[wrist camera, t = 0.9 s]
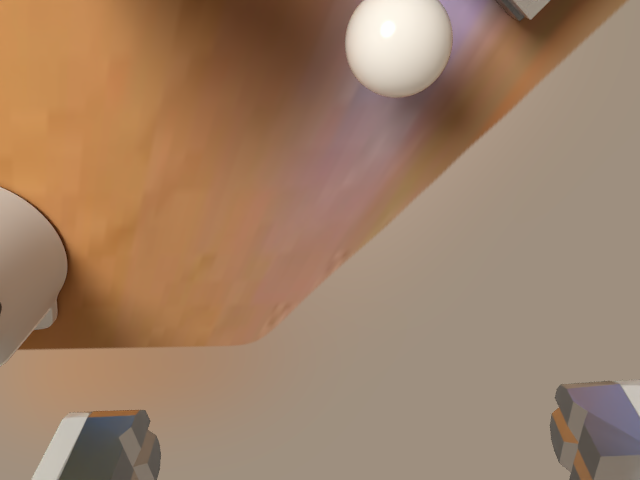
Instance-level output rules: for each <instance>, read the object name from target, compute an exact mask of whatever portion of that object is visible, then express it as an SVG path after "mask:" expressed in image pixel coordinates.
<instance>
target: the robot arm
mask: <svg viewBox="0 0 640 480" xmlns="http://www.w3.org/2000/svg"><path fill="white" fill-rule="evenodd" d="M66 275H67V257H66V252H65V249H64V246H63V244H62V241H61V239H60V237H59V236H58V234H57V232H56V231H55V229H54V228H53V227H52V225H51V224H50V223H49V221H48V220H47V219H46V218H45V217H44V216H43V215H42V214H41V213H40V212H39V211H38V210H37V209H36V208H34V207H33V206H32V205H31V204H29V203H28V202H26V201H25V200H24V199H22V198H20V197H19V196H17V195H15V194H14V193H12V192H10V191H8V190H6V189H4V188H1V187H0V366H2V365H3V364H5V363H6V362H7V361H8V360H9V359H10V358H11V356H12V355H13V354H14V353H15V352H16V350H17V349H18V348H19V347H20V346H21V345H22V343H23V342H24V341H25V340H26V339H27V337H28V336H29V335H30V334H31V332H32V331H33V330H38V329H44V328H48V327H50V326H51V325H52V324H53V323H54V321H55V320H56V319H57V315H58V308H57V296H58V294H59V292H60V290H61V288H62V286H63V284H64V282H65V279H66ZM555 399H556V401H557V404H558V405H559V408H558V409H557V410H555V411H554V412H553V413H552V416H551V422H550V431H551V440H552V444H553V447H554V451H555V454H556V456H557V459H558V461H559V463H560V464H561V465H562V466H564V467H565V468H566V469H567V470H569V471H570V472H571V475H570V480H640V380H624V381H614V382H613V381H602V382H589V383H574V384H561V385H560V386H559V387H558V388H557V391H556V395H555ZM149 424H150V420H149V417H148V415H147V413H146V411H145V410H125V411H124V410H123V411H93V412H73V413H69V414H68V415H67V416H65V417H64V418H63V420H62V421H61V423H60V425H59V427H58V429H57V431H56V433H55V435H54V437H53V438H52V440H51V442H50V444H49V446H48V448H47V450H46V452H45V454H44V456H43V458H42V460H41V462H40V464H39V466H38V467H37V469H36V471H35V473H34V475H33V477H32V479H31V480H157V477H158V473H159V470H160V459H161V452H160V445H159V441H158V439H157V436H156V435H155V434H153V433H152V432H150V431H149V430H148V427H149Z"/></svg>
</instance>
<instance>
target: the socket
mask: <svg viewBox="0 0 640 480" xmlns="http://www.w3.org/2000/svg"><path fill="white" fill-rule="evenodd" d="M496 1H497V3H498V4H499V5H500V6H501V7H502V8H503V9H504V10H505V11H506V13H507V14H508V15H509V16H511V17H513V18H515V19H517V20H518V21H521V20H522V19H523V18H524V17H526V18H528V19H530V20H531V19H532V18H533V17H534V16H535V15H536V14H537V13H538V12H539V11H540V10H541V9H542V8H543V7H544V6H545V5H546V4H547V3H548V2H549V1H550V0H496Z"/></svg>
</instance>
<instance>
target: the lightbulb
mask: <svg viewBox="0 0 640 480" xmlns="http://www.w3.org/2000/svg"><path fill="white" fill-rule="evenodd" d="M452 43H453V33H452V26H451V22H450V19H449V16H448V14H447V12H446V10H445V8H444V7H443V5H442V4H441V3H440V1H439V0H363V1H362V2H361V3H360V4H359V5H358V7H357V8H356V9H355V11H354V13H353V14H352V16H351V18H350V21H349V23H348V26H347V30H346V36H345V52H346V57H347V61H348V64H349V66H350V69H351V71H352V72H353V74H354V76H355V77H356V78H357V80H358V81H359V82H360V83H361V84H362V85H363V86H365V87H366V88H367V89H369V90H370V91H372V92H374V93H376V94H378V95H381V96H385V97H392V98H401V97H407V96H411V95H414V94H417V93H419V92H421V91H423V90H424V89H426V88H427V87H429V86H430V85H431V84H432V83H433V82H435V80H436V79H437V78H438V77H439V76H440V75H441V73H442V72H443V70H444V68H445V67H446V65H447V63H448V60H449V57H450V54H451V50H452Z"/></svg>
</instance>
